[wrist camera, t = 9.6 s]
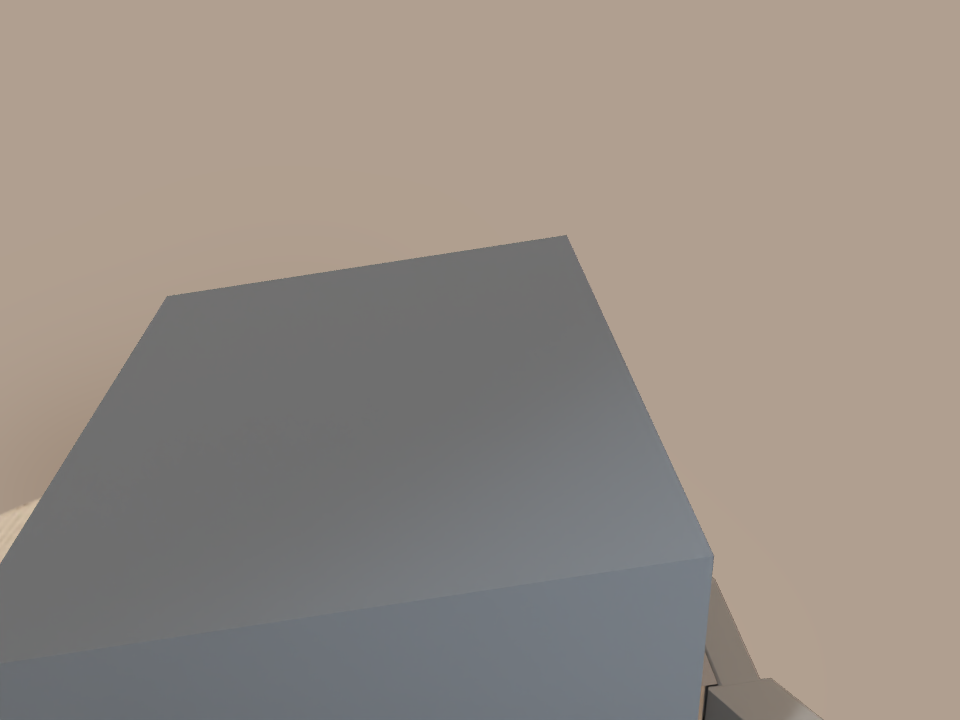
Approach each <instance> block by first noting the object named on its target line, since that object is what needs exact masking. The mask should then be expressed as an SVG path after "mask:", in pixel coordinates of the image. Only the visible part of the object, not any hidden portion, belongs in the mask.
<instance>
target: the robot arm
mask: <svg viewBox="0 0 960 720" xmlns="http://www.w3.org/2000/svg"><path fill="white" fill-rule="evenodd" d="M698 720H823V719H822V718H821V717H819V716H818V715H817V714H815V713H814V712H813V711H812V710H811V709H809V708H808V707H807V706H805V705H804V704H803V703H802V702H800V701H799V700H798V699H797V698H796V697H794V696H793V695H792V694H790V693H789V692H788V691H786V690H785V689H784V688H783V687H782V686H780V685H779V684H778V683H777V682H775V681H774V680H773V679H772V678H767V679H760V678H759V675H758V673H757V671H756V669H755V667H754V664H753V662H752V660H751V658H750V655H749V653H748V651H747V649H746V647H745V644H744V642H743V640H742V638H741V635H740V633H739V631H738V629H737V626H736V624H735V622H734V620H733V618H732V615H731V613H730V611H729V609H728V607H727V604H726V602H725V600H724V598H723V595H722V593H721V591H720V589H719V587H718V584H717V582H716V580H715V579H714V578H713V577H712V581H711V591H710V601H709V611H708V622H707V632H706V642H705V652H704V662H703V673H702V683H701V693H700V703H699V713H698Z"/></svg>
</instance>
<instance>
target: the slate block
mask: <svg viewBox="0 0 960 720" xmlns="http://www.w3.org/2000/svg"><path fill="white" fill-rule="evenodd" d="M713 560H714V556H713V553H712V551H711V548H710V546H709V544H708V542H707V540H706V538H705V535H704V533H703V531H702V529H701V527H700V524H699V522H698V520H697V518H696V516H695V514H694V511H693V509H692V507H691V505H690V503H689V501H688V498H687V496H686V494H685V492H684V490H683V488H682V485H681V483H680V481H679V479H678V477H677V475H676V472H675V471H674V468H673V466H672V464H671V461H670V459H669V457H668V455H667V453H666V450H665V448H664V446H663V444H662V442H661V440H660V438H659V435H658V433H657V431H656V429H655V427H654V425H653V422H652V420H651V418H650V416H649V413H648V412H647V410H646V407H645V405H644V403H643V401H642V398H641V396H640V394H639V392H638V390H637V388H636V385H635V383H634V381H633V379H632V377H631V374H630V372H629V370H628V368H627V366H626V363H625V361H624V359H623V357H622V355H621V353H620V351H619V348H618V346H617V344H616V342H615V340H614V338H613V335H612V333H611V331H610V329H609V326H608V324H607V322H606V320H605V318H604V316H603V314H602V311H601V309H600V307H599V305H598V303H597V300H596V298H595V296H594V294H593V292H592V289H591V287H590V285H589V283H588V281H587V279H586V276H585V274H584V272H583V270H582V268H581V266H580V263H579V262H578V259H577V257H576V255H575V252H574V250H573V248H572V246H571V244H570V242H569V239H568V237H567V235H564V236H558V237H552V238H545V239H539V240H532V241H525V242H519V243H512V244H506V245H499V246H493V247H486V248H480V249H473V250H467V251H460V252H454V253H447V254H441V255H434V256H427V257H421V258H414V259H408V260H401V261H395V262H389V263H382V264H375V265H369V266H362V267H355V268H349V269H342V270H336V271H329V272H323V273H316V274H311V275H304V276H297V277H291V278H284V279H277V280H271V281H264V282H258V283H251V284H244V285H239V286H232V287H225V288H219V289H213V290H206V291H199V292H192V293H186V294H180V295H173V296H167V297H166V299H165V300H164V302H163V304H162V305H161V307H160V309H159V310H158V312H157V313H156V315H155V317H154V318H153V320H152V321H151V323H150V324H149V326H148V328H147V329H146V331H145V333H144V334H143V336H142V337H141V339H140V341H139V342H138V344H137V345H136V347H135V349H134V350H133V352H132V353H131V355H130V357H129V358H128V360H127V361H126V363H125V365H124V366H123V368H122V369H121V371H120V373H119V374H118V376H117V378H116V379H115V381H114V382H113V384H112V386H111V387H110V389H109V390H108V392H107V393H106V395H105V397H104V398H103V400H102V402H101V403H100V405H99V406H98V408H97V410H96V411H95V413H94V414H93V416H92V418H91V419H90V421H89V422H88V424H87V426H86V427H85V429H84V430H83V432H82V434H81V435H80V437H79V438H78V440H77V442H76V443H75V445H74V446H73V448H72V450H71V451H70V453H69V454H68V456H67V458H66V459H65V461H64V462H63V464H62V466H61V467H60V469H59V471H58V472H57V474H56V475H55V477H54V479H53V480H52V482H51V483H50V485H49V487H48V488H47V490H46V491H45V493H44V495H43V496H42V498H41V499H40V501H39V503H38V504H37V506H36V507H35V509H34V511H33V512H32V514H31V515H30V517H29V519H28V520H27V522H26V523H25V525H24V527H23V528H22V530H21V531H20V533H19V535H18V536H17V538H16V539H15V541H14V543H13V544H12V546H11V547H10V549H9V551H8V552H7V554H6V555H5V557H4V559H3V560H2V562H1V564H0V720H698V713H699V703H700V693H701V683H702V673H703V662H704V652H705V642H706V632H707V622H708V611H709V601H710V591H711V581H712V570H713Z"/></svg>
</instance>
